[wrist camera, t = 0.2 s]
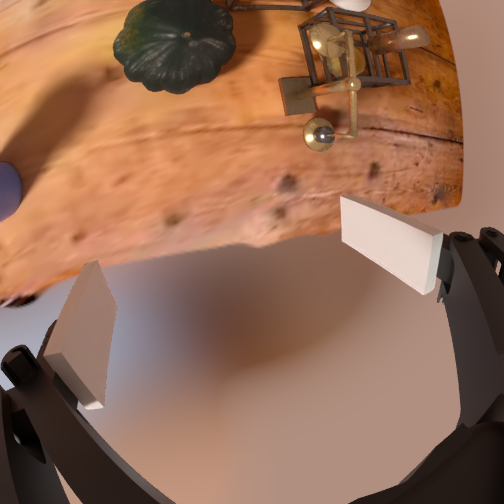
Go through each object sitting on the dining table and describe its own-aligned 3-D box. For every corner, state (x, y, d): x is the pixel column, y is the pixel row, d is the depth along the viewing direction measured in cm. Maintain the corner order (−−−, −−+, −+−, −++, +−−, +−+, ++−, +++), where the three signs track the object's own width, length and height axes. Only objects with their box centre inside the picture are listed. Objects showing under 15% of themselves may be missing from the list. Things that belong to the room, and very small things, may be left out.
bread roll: (337, 28, 35) (350, 22, 31) (364, 68, 39) (378, 65, 35) (306, 45, 35) (318, 38, 31) (336, 87, 39) (350, 84, 36)
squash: (153, -24, 20) (111, -8, 13) (254, 5, 26) (262, 30, 19) (125, 55, 31) (87, 104, 24) (213, 77, 37) (205, 131, 31)
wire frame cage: (297, 25, 33) (371, -17, 16) (362, 32, 36) (439, 10, 19) (311, 88, 38) (397, 71, 21) (374, 87, 41) (458, 83, 24)
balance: (270, 46, 34) (326, 9, 19) (299, 46, 35) (362, 15, 20) (291, 151, 41) (356, 162, 27) (318, 146, 42) (388, 156, 28)
